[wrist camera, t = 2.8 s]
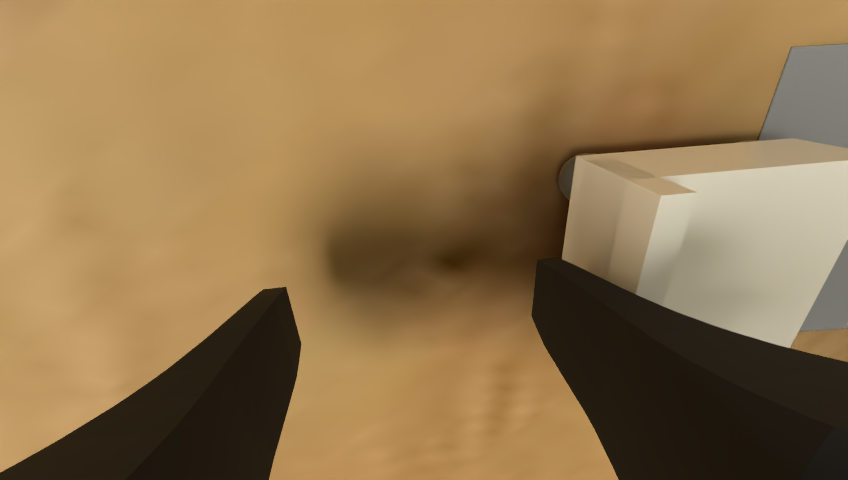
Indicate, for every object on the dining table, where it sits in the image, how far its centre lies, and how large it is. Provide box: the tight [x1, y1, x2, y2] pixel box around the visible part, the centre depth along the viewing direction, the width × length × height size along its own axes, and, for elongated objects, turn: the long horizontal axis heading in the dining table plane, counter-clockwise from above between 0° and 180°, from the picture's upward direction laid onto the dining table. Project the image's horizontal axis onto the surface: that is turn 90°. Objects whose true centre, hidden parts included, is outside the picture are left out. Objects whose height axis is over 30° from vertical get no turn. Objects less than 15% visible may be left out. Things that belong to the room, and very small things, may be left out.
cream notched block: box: [558, 138, 848, 348], centre depth 11 cm, size 7×7×5 cm
